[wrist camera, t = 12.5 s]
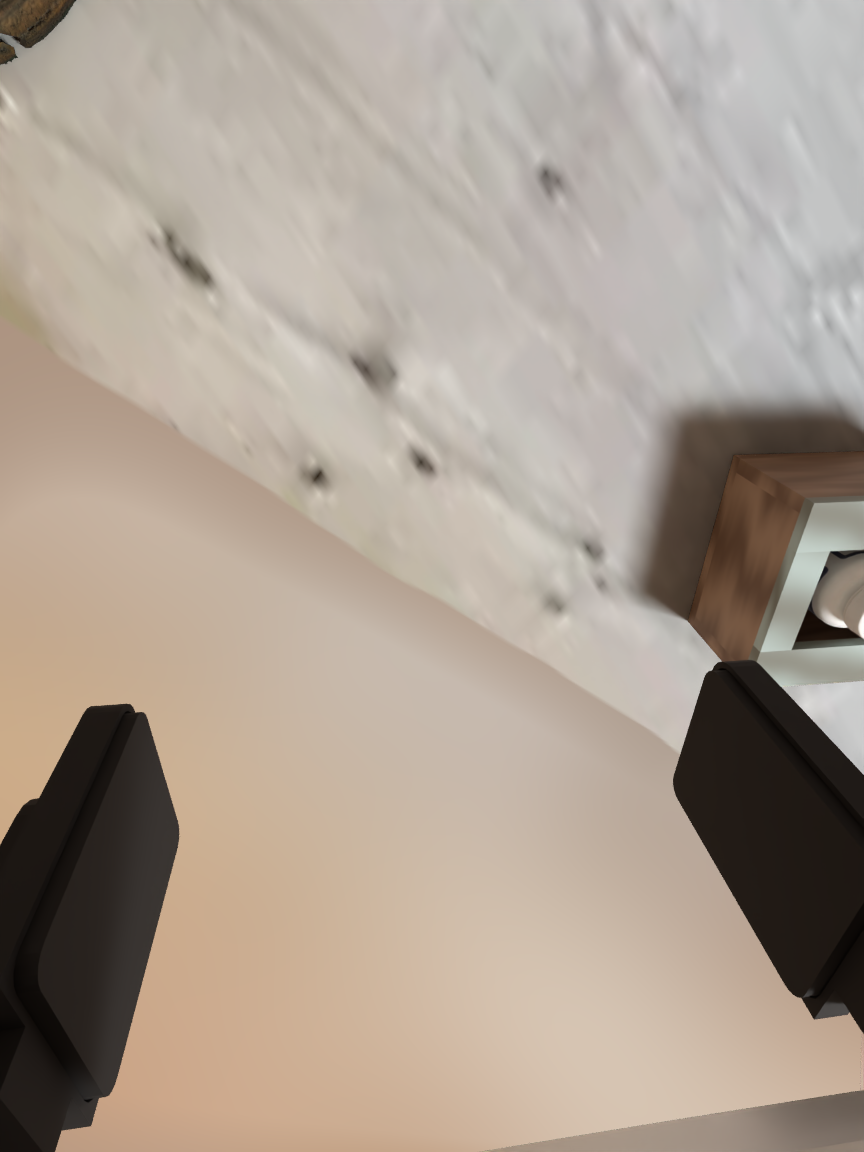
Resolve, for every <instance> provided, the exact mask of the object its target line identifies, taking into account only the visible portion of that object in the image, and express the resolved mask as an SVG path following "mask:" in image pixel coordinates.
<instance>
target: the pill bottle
mask: <svg viewBox="0 0 864 1152" xmlns="http://www.w3.org/2000/svg"><path fill="white" fill-rule="evenodd" d="M808 610H809V611H810V612H812V613H813V614H814V615H815V616H816V617H818V618H819V619H820V620H822V621H823V622H825V623H826V624H828V625H831V626H834V627H840V628H847V627H848V628H849V629H850V630H851V631H853V632H854V633H856V634H857V635H859V636H860V637H861V638H863V639H864V550H846V551H830V553H829V556H828V558H827V561H826V563H825V566H824V568H823V571H822V574H821V576H820V579H819V581H818V584H817V586H816V589H815V591H814V594H813V596H812V599H811V601H810V604H809V607H808Z"/></svg>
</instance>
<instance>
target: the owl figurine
mask: <svg viewBox="0 0 864 1152" xmlns="http://www.w3.org/2000/svg"><path fill="white" fill-rule="evenodd" d="M74 1H76V0H0V33H3V34H6V35H10V36H14V37H18V38H20V39H21V40H20V44H21V45H22V46H24V47H25V48H31V47H32V46H33V45H34V44H36V43H38V42H40V41H41V40H43V39H44V38H45V37H46V36H47V35H48V34H49V33H50V32H51V31H52V30H53V29H54V28H55V27H56V26H57V25H58V23H59V22H61V21H62V19H64V17H65V16H66V15H67V14H68V11H69V10H70V7H72V6H73V3H74ZM14 58H18V57H17V56H16V54H15V50H14V47H11V46H10V45H7V44H5V43H4V42H1V43H0V65H1V64H4V63H5V64H8V63H7V62H8V61H11V62H12V60H13V59H14Z"/></svg>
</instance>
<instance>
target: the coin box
mask: <svg viewBox="0 0 864 1152" xmlns="http://www.w3.org/2000/svg"><path fill="white" fill-rule="evenodd" d="M846 550H864V451H854V452H819V453H783V454H748V455H734V456H733V460H732V463H731V467H730V470H729V474H728V478H727V481H726V485H725V488H724V492H723V496H722V499H721V503H720V507H719V510H718V514H717V517H716V521H715V525H714V528H713V532H712V535H711V539H710V543H709V546H708V550H707V553H706V557H705V561H704V564H703V568H702V571H701V575H700V579H699V582H698V586H697V589H696V593H695V597H694V600H693V604H692V607H691V611H690V615H689V618H688V622H689V623H690V624H691V626H692V627H693V628H694V629H695V630H696V631H697V633H698V634H699V635H700V636H701V637H702V638H703V640H704V641H705V642H706V643H707V644H708V645H709V646H710V648H711V649H712V650H713V651H714V652H715V653H716V655H717V656H718V657H719V658H720V659H721V660H722V662H725V661H739V660H753V661H756V662H757V663H759V664H760V665H761V666H762V667H763V668H764V669H765V670H766V671H767V673H768V674H769V675H770V676H771V677H772V678H773V679H774V680H775V681H776V682H777V683H778V684H779V685H780V686H781V687H788V686H801V685H814V684H827V683H840V682H853V681H864V639H863V638H861V637H860V636H859V635H857V634H856V633H854V632H853V631H851V630H850V629H849V628H848V627H847V628H840V627H834V626H831V625H828V624H826V623H825V622H823V621H822V620H820V619H819V618H818V617H816V616H815V615H814V614H813V613H812V612H810V611H809V610H808V607H809V604H810V601H811V599H812V596H813V594H814V591H815V589H816V586H817V584H818V581H819V579H820V576H821V574H822V571H823V568H824V566H825V563H826V561H827V558H828V556H829V553H830V551H846Z"/></svg>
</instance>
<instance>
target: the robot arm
mask: <svg viewBox="0 0 864 1152" xmlns="http://www.w3.org/2000/svg"><path fill="white" fill-rule="evenodd" d="M673 785H674V791H675V794H676V797H677V799H678V801H679V802H680V804H681V806H682V808H683V809H684V811H685V813H686V814H687V816H688V818H689V820H690V821H691V823H692V825H693V827H694V828H695V830H696V832H697V833H698V835H699V837H700V839H701V840H702V842H703V844H704V845H705V847H706V849H707V851H708V852H709V854H710V856H711V858H712V859H713V861H714V863H715V864H716V866H717V868H718V870H719V871H720V873H721V875H722V877H723V878H724V880H725V882H726V884H727V885H728V887H729V889H730V890H731V892H732V894H733V896H734V897H735V899H736V901H737V902H738V904H739V906H740V908H741V909H742V911H743V913H744V915H745V916H746V918H747V920H748V922H749V923H750V925H751V927H752V929H753V930H754V932H755V933H756V936H757V937H758V939H759V941H760V942H761V944H762V946H763V948H764V949H765V951H766V953H767V955H768V956H769V958H770V960H771V961H772V963H773V965H774V967H775V968H776V970H777V972H778V974H779V975H780V977H781V979H782V981H783V982H784V983H785V985H786V987H787V988H788V990H789V991H790V992H791V993H792V994H793V995H795V996H796V997H799V998H802V1000H803V1002H804V1003H805V1005H806V1007H807V1008H808V1010H809V1012H810V1013H811V1015H812V1017H813V1018H814V1019H821V1018H828V1017H835V1016H842V1015H848V1013H849V1012H850V1013H851V1015H852V1017H853V1018H854V1020H855V1021H856V1023H857V1024H858V1026H859V1027H860V1029H861V1031H862V1044H861V1046H862V1047H861V1081H860V1084H861V1085H860V1091H855V1092H849V1093H842V1094H836V1095H829V1096H823V1097H817V1098H810V1099H805V1100H797V1101H791V1102H785V1103H778V1104H772V1105H766V1106H760V1107H753V1108H747V1109H741V1110H735V1111H728V1112H722V1113H715V1114H709V1115H703V1116H697V1117H690V1118H685V1119H677V1120H672V1121H665V1122H659V1123H653V1124H647V1125H641V1126H635V1127H628V1128H622V1129H616V1130H610V1131H604V1132H598V1133H592V1134H585V1135H579V1136H573V1137H567V1138H561V1139H555V1140H549V1141H543V1142H536V1143H530V1144H524V1145H519V1146H512V1147H506V1148H501V1149H494V1150H488V1151H482V1152H864V775H863V774H862V773H861V772H860V771H859V770H858V768H857V767H856V766H855V765H854V764H853V763H852V762H851V761H850V760H849V759H848V758H847V757H846V756H845V755H844V754H843V752H842V751H841V750H840V749H839V748H838V747H837V746H836V745H835V744H834V743H833V742H832V741H831V740H830V739H829V738H828V736H827V735H826V734H825V733H824V732H823V731H822V730H821V729H820V728H819V727H818V726H817V725H816V724H815V723H814V722H813V721H812V719H811V718H810V717H809V716H808V715H807V714H806V713H805V712H804V711H803V710H802V709H801V708H800V707H799V706H798V705H797V703H796V702H795V701H794V700H793V699H792V698H791V697H790V696H789V695H788V694H787V693H786V692H785V691H784V690H783V689H782V687H781V686H780V685H779V684H778V683H777V682H776V681H775V680H774V679H773V678H772V677H771V676H770V675H769V674H768V673H767V671H766V670H765V669H764V668H763V667H762V666H761V665H760V664H759V663H757V662H756V661H753V660H739V661H725V662H718V663H717V664H716V665H715V666H714V668H713V670H712V671H709V672H708V673H706V675H705V677H704V680H703V684H702V687H701V690H700V693H699V697H698V700H697V703H696V706H695V709H694V713H693V716H692V719H691V722H690V725H689V729H688V732H687V735H686V738H685V741H684V745H683V748H682V751H681V754H680V757H679V761H678V764H677V767H676V771H675V773H674V778H673ZM178 842H179V825H178V820H177V817H176V814H175V811H174V807H173V804H172V800H171V797H170V793H169V790H168V787H167V783H166V780H165V777H164V773H163V770H162V767H161V763H160V760H159V756H158V753H157V750H156V746H155V743H154V740H153V736H152V733H151V730H150V726H149V723H148V719H147V717H146V715H145V714H144V713H143V712H137V713H135V711H134V709H133V707H132V706H131V705H130V704H118V705H104V706H91V707H89V708H87V709H86V711H85V712H84V714H83V715H82V717H81V719H80V721H79V723H78V725H77V727H76V729H75V731H74V733H73V735H72V736H71V739H70V740H69V742H68V744H67V746H66V748H65V750H64V752H63V754H62V756H61V757H60V759H59V761H58V763H57V765H56V767H55V769H54V771H53V773H52V775H51V776H50V778H49V780H48V782H47V784H46V786H45V788H44V790H43V792H42V794H41V796H40V798H38V799H32V800H30V801H29V802H27V803H26V804H25V805H23V807H22V808H21V810H20V811H19V813H18V814H17V816H16V817H15V819H14V821H13V823H12V824H11V826H10V828H9V830H8V832H7V834H6V835H5V837H4V839H3V841H2V843H1V845H0V1152H55V1150H56V1147H57V1143H58V1140H59V1137H60V1134H61V1130H68V1129H75V1128H81V1127H88V1126H91V1124H92V1121H93V1117H94V1114H95V1110H96V1106H97V1103H98V1099H99V1098H101V1097H106V1096H108V1095H109V1094H110V1093H111V1092H112V1089H113V1087H114V1085H115V1082H116V1079H117V1076H118V1072H119V1069H120V1065H121V1061H122V1057H123V1053H124V1050H125V1046H126V1042H127V1038H128V1034H129V1030H130V1026H131V1023H132V1019H133V1015H134V1011H135V1008H136V1004H137V1000H138V996H139V992H140V988H141V985H142V981H143V977H144V973H145V969H146V966H147V962H148V958H149V954H150V951H151V947H152V943H153V939H154V935H155V932H156V927H157V924H158V920H159V916H160V912H161V908H162V905H163V901H164V897H165V894H166V890H167V886H168V882H169V878H170V874H171V871H172V867H173V863H174V859H175V855H176V852H177V848H178Z"/></svg>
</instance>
